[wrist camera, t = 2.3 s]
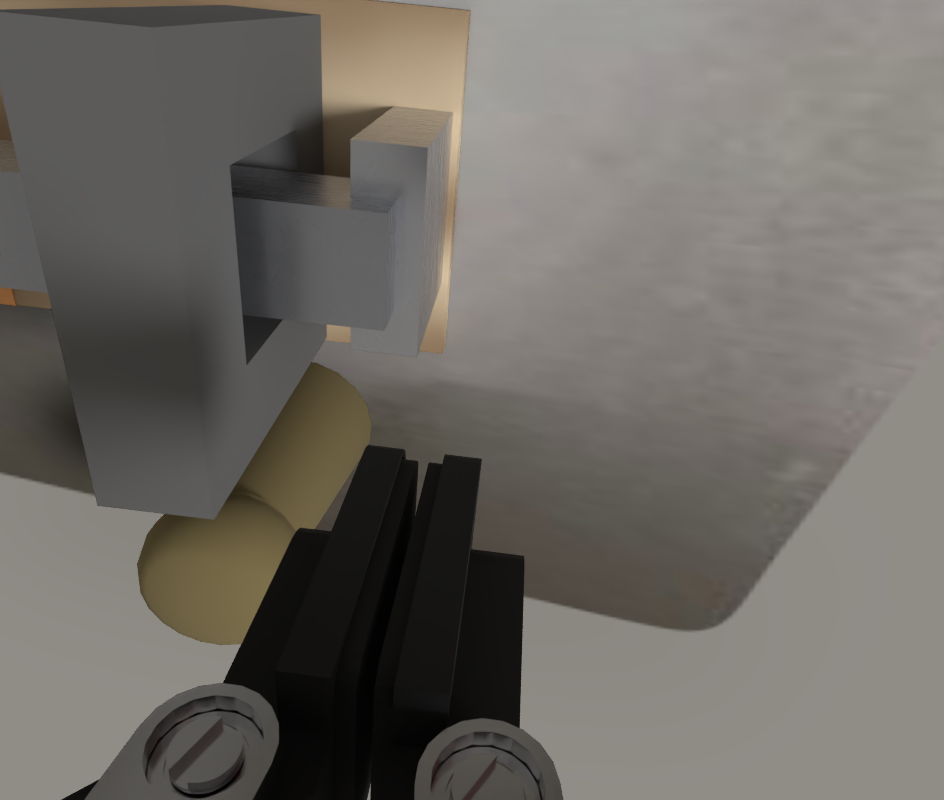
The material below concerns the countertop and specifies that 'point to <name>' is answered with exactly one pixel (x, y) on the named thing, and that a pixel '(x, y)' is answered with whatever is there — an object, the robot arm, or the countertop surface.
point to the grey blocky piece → (317, 234)
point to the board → (352, 93)
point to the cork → (256, 515)
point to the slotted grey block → (161, 228)
